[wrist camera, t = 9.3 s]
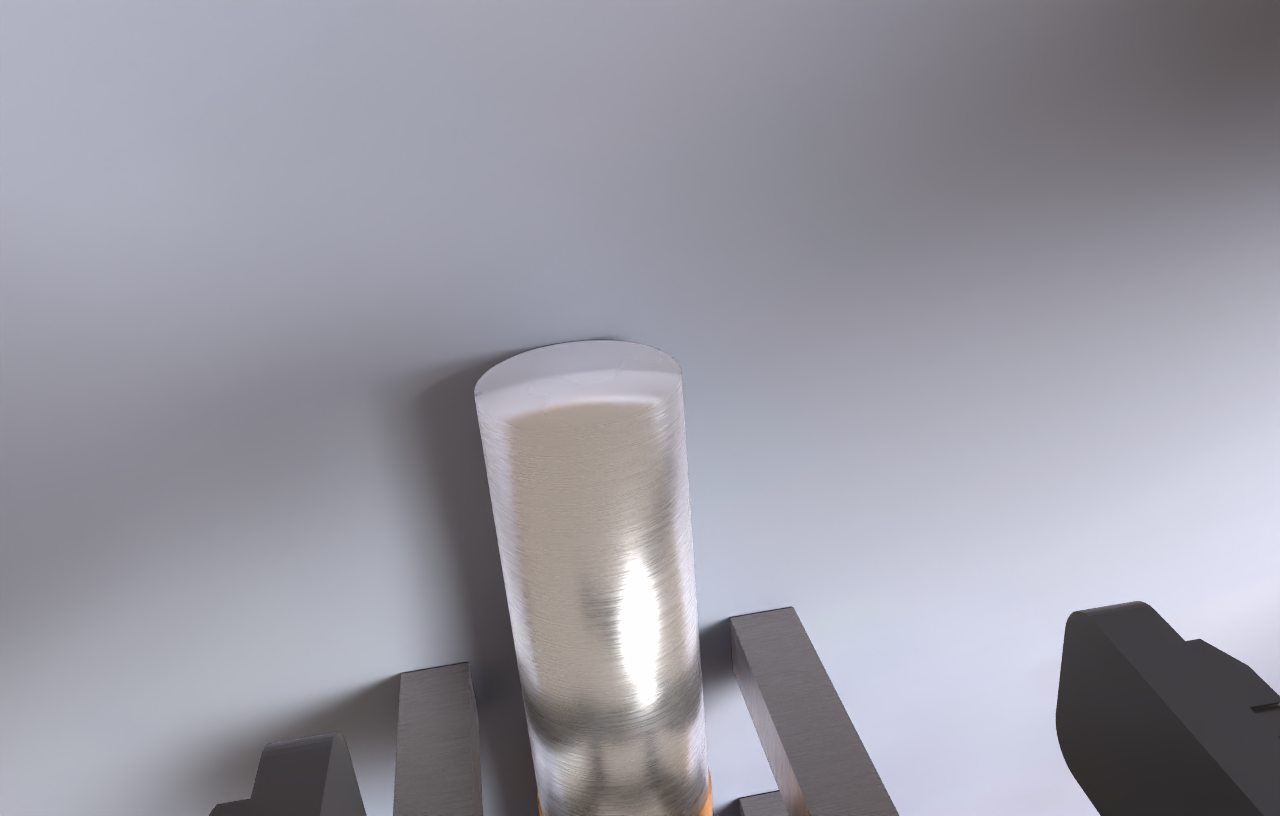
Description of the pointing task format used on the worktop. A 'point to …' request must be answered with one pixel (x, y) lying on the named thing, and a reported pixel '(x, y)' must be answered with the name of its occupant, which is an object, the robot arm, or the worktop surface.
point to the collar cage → (771, 686)
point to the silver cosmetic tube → (600, 574)
